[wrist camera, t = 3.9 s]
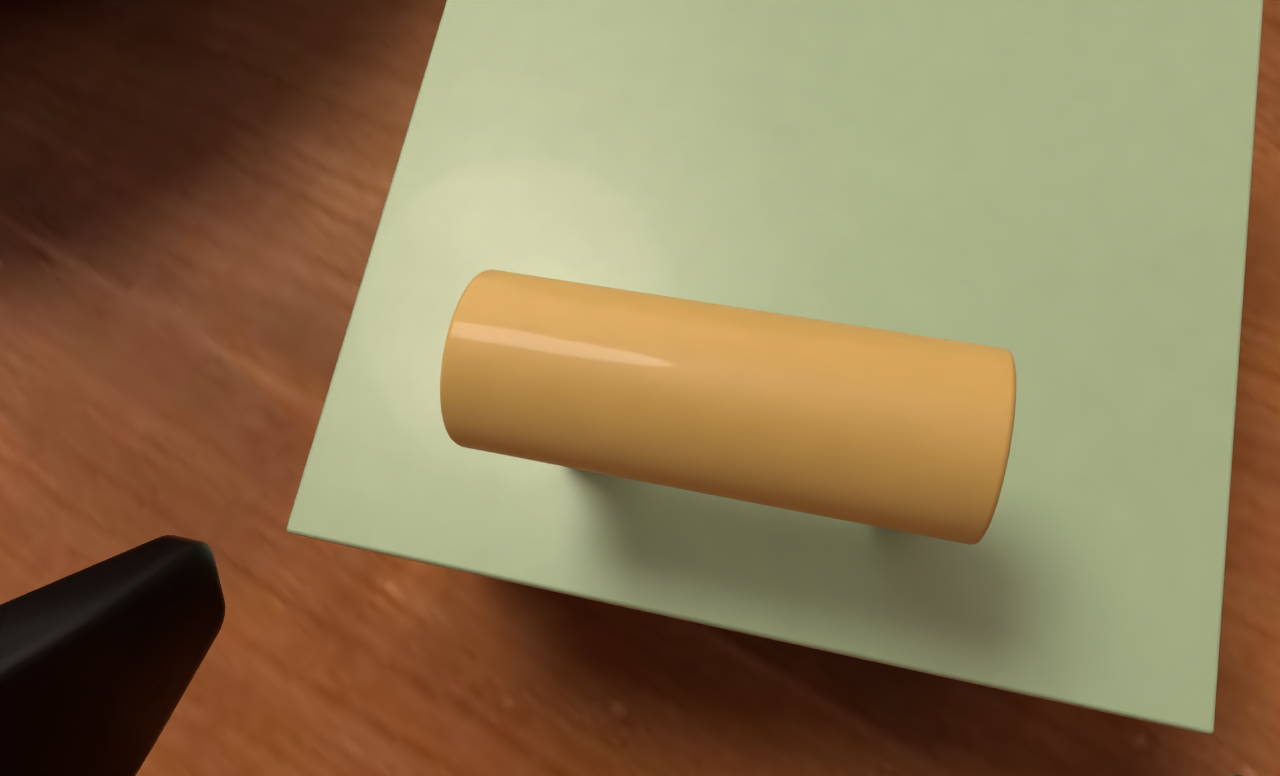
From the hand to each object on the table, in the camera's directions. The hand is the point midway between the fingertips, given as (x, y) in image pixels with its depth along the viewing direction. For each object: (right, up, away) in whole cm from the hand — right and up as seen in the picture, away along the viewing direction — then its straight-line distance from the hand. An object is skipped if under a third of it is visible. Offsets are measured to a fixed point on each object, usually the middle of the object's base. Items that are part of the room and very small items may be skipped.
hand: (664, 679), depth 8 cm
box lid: (+2, +5, +6) cm, 8 cm away
